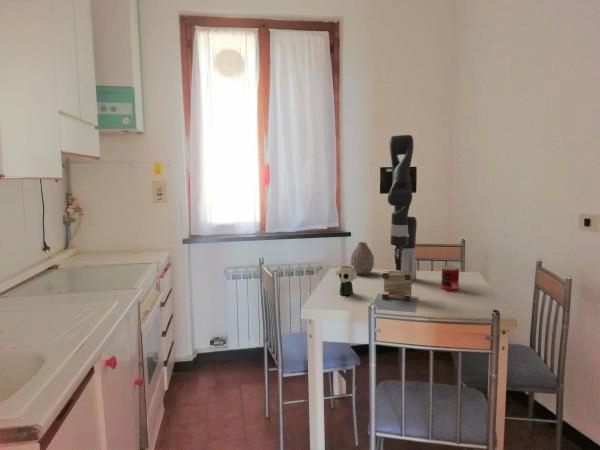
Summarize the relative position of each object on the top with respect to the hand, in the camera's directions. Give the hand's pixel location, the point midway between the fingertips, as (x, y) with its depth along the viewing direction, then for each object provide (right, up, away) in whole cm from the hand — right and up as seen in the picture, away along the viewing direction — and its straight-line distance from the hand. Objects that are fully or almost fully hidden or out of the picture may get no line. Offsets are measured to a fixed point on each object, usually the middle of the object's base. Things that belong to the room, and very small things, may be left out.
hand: (398, 272), depth 202 cm
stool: (-2, -11, -4) cm, 12 cm away
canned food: (+27, -10, +12) cm, 31 cm away
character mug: (-23, -11, +5) cm, 26 cm away
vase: (-10, -6, +45) cm, 47 cm away
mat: (-3, -13, -10) cm, 16 cm away
